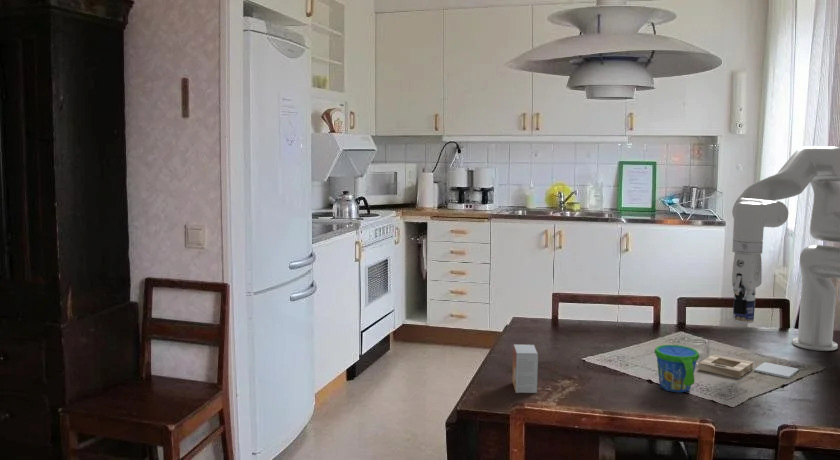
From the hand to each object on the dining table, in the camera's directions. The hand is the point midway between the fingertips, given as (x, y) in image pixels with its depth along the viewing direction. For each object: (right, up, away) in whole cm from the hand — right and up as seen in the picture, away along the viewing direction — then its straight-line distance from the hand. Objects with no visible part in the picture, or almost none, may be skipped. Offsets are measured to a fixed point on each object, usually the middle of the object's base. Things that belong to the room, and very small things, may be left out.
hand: (744, 310), depth 203 cm
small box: (-63, -19, -13) cm, 67 cm away
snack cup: (-24, -19, -13) cm, 33 cm away
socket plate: (-4, -17, +2) cm, 17 cm away
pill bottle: (0, -3, 0) cm, 3 cm away
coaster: (+9, -17, +1) cm, 19 cm away
